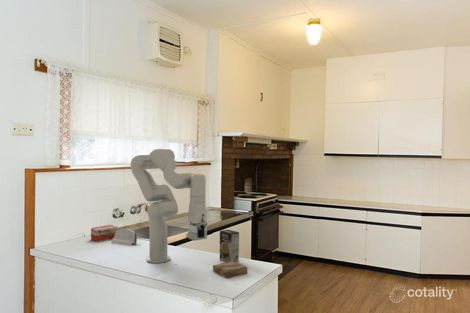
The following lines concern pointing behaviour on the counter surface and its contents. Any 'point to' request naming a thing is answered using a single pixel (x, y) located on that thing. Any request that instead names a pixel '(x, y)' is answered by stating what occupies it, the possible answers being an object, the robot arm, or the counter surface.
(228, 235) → the coffee box
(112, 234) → the medicine box
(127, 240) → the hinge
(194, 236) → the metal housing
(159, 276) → the counter surface
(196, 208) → the robot arm
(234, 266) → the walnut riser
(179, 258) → the counter surface
